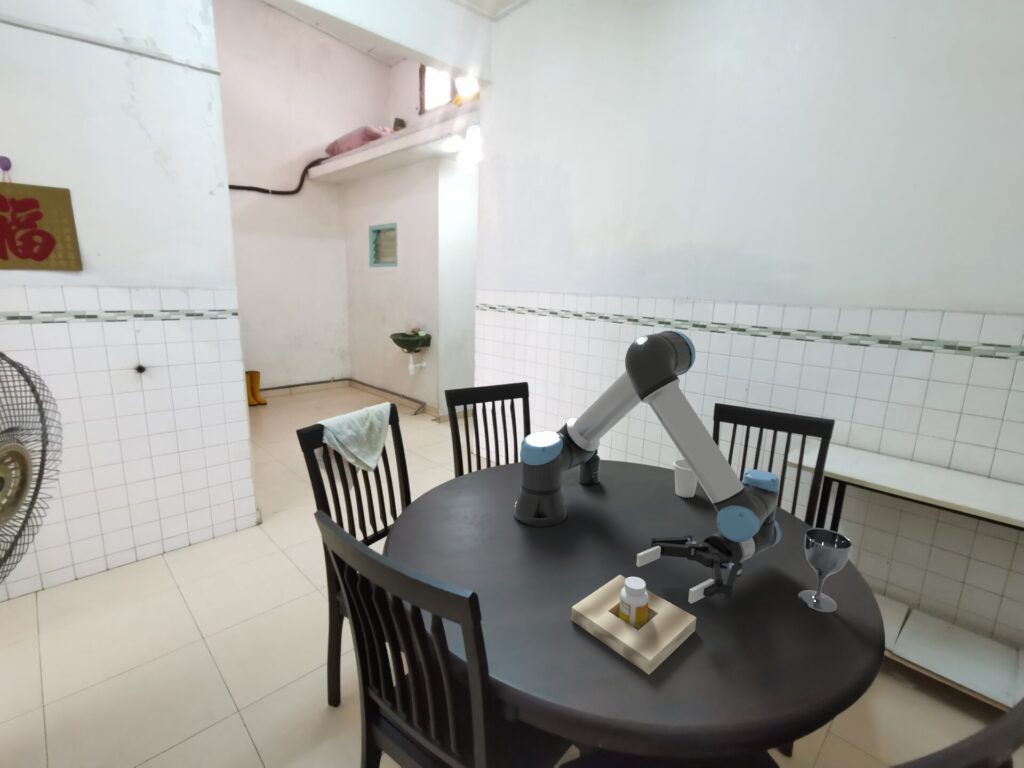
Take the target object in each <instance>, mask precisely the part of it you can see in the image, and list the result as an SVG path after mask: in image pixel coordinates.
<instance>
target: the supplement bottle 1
mask: <svg viewBox="0 0 1024 768" xmlns="http://www.w3.org/2000/svg"><path fill="white" fill-rule="evenodd" d="M598 449H599V447H598V448H597V449H596V450H595V453H594V454H593V456H592V457H591V458H590V459H589V460H588V461H586V462H585V463H582V464H580V465H578V481H579V483H581V484H583V485H586V486H595V485H597V484H598V483H599V482H600V471H601V469H600V468H601V457H600V456H599V455H598V454H599V453H598Z"/></svg>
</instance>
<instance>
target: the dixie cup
mask: <svg viewBox="0 0 1024 768" xmlns="http://www.w3.org/2000/svg"><path fill="white" fill-rule="evenodd" d="M673 466H674V467H673V468H674V485H675V487H674V488H675V494H676V495H677V496H679V497H682V498H686V497H687V499H690V498H694V497H695V493H696V490H697V486H698V483H699V482H698V480H697V478H696V477H695V475H694V474H693V472H692V471H691V469H690V467H689V466H688V464H687V463H686V461H685V460H684V458H681V459H677V460H675V461H673ZM689 497H690V498H689Z"/></svg>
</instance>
